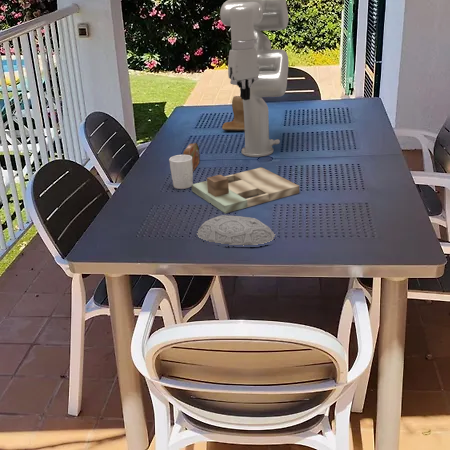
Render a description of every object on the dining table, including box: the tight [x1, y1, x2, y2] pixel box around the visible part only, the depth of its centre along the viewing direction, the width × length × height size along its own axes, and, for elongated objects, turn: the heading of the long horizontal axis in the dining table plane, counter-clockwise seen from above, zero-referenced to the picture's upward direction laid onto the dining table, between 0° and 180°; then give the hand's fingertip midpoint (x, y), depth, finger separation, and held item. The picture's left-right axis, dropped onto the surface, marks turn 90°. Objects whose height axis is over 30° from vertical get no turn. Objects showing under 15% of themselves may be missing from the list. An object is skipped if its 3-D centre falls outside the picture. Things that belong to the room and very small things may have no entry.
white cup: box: [168, 154, 194, 190], centre depth 207 cm, size 8×8×10 cm
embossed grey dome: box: [196, 214, 276, 246], centre depth 170 cm, size 16×25×7 cm, turn 70°
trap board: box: [191, 167, 300, 214], centre depth 200 cm, size 28×23×2 cm
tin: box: [182, 142, 201, 172], centre depth 224 cm, size 15×3×8 cm, turn 168°
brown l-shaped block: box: [221, 95, 245, 132], centre depth 267 cm, size 15×12×15 cm
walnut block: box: [206, 174, 229, 197], centre depth 194 cm, size 5×5×5 cm
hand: (245, 99), depth 208 cm, fingers closed
